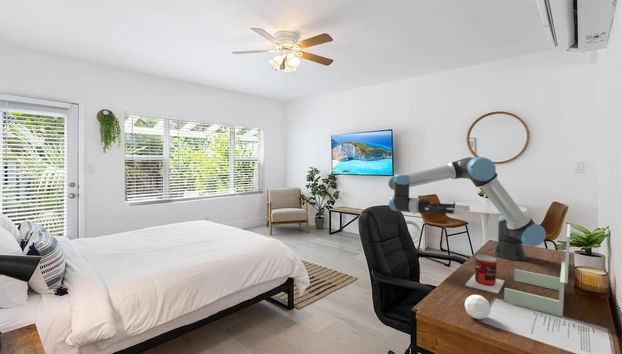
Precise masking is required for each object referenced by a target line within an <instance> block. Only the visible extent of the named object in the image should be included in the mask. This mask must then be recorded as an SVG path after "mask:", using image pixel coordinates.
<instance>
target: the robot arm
mask: <svg viewBox="0 0 622 354" xmlns="http://www.w3.org/2000/svg"><path fill="white" fill-rule="evenodd" d="M496 170H497V168H496V165H495V163H494V161H492V160H491V159H489V158H488V157H483V156H477V157H464V158H462V159H457V160H455V161H451V162H448V163H447V165H441V166H439V167H438V166H437V167H433V168H430V169H425V170H420V171H415V172H411V173H406V174H402V173H401V174H398V173H397V174H395V175H394V176H391V177H390V178H389V180H388V181H387V185H388V187H389V188H390V189H391V190H393V191H394V194H393V196H390V199H389V202H388V205H389V208H390V209H391V211H396V212H404V213H413V215H416V214H420V215H421V214H422V215H427V214H429V212H430V213H435V214H438V215H443V216H446V215H452V216H453V215H454V216H463V212H470V211H471V209H470V207H471V206H470V205H464V204H463V205H462V204H456V202H453V203H440V202H439V203H436V202H432V203H430V200H429V199H428V198H419V197H410V188H412V187H417V186H421V185H426V184H430V183H436V182H439V181H444V180H449V179H451V180H458V179H467V180H471V182H472V183H473V184H474V186H475V187H476V188H480V189H481V190H482V191H483V192H484V194H485V195H486V197H487V198H488V199H489V200H490V201H491V203H492V204H493V205H494V207H495V208H496V210H497V211H498V212H499V213H500V216H499V218H498V227H497V228H498V231H497V232H498V234H497V236H498V237H497V243H496V245H495V247H494V250H493V254H495V256H496V257H498V258H502V259H505V260H511V261H513V260H514V261H523V260H526V259H527V254H526V251H525V247H524V246H528V247H531V248H533V247H538V246H540V245H541V244H542V243H544V241H545V239H546V236H547V232H546V230H545V227H543V226H542V225H540V224H538V223H536V222H535V221H534V219H533V218H532V217H531V216H530V215H529V214H525V213H524V212H523V210H521V208H520V206H518V205H517V203H516V202H515V201H514V199H513V197H511V196H510V194H509V193H508V191H507V190H506V188H505V187H504V186H503V185H502V183H501V182H500V181H499V180H498V176H499V175H498V173H497V172H496Z"/></svg>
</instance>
